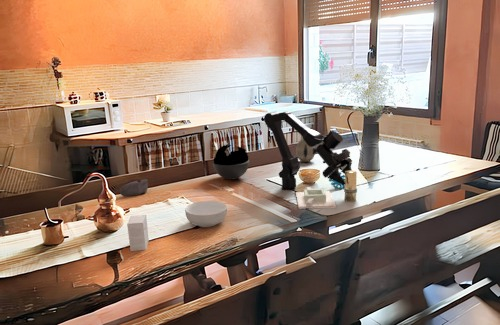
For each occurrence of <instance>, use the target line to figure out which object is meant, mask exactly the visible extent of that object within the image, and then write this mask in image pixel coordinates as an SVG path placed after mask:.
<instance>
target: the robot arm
mask: <svg viewBox="0 0 500 325" xmlns="http://www.w3.org/2000/svg"><path fill="white" fill-rule="evenodd" d="M263 121H264V123H265V125H266V127H267V129H269V130H270V131H271V132H272V136H273V137H274V140H275V143H276V146H277V147H278V151H279V153H280V156H281V160H282V161H281V168H282V169H281V170H280V171H279V173H278V177H279V178H281V190H282V191H283V190H284V191H290V190H291V191H292V190H296V188H297V178H296V177H295V176H297V174H298V173H299V171H300V170H301V166H300V165H301V163H300V162H299V161H300V160H299V159H298V158H297V156H294V155H292V153H291V150H290V147H289V144H288V141H287V139H286V136H285V133H284V131H283V128H282V126H283V125H282V124H283V121H284V122H285V123H287V125H289V126H290V127H291V128H293V129H294V130H295V131H296V132H297V133H298V134H299V135H300V136H301V137H302V139H303V140H304V141H305V142H306V143H307V145H308V146H310V147H314V146H315V148H313V154H315V155H317V154H318V156H320V158H321V159H322V160H323V161H322V163H323V164H326V165H327V167H326V168H325V169H324V170H323V171H322V176H323V177H324V178H327V179H328V180H329V179H332V180H334V181H336V182H338V183H340V184H342V186H343V185H345V184H346V183H345V182H344V180H343V179H342V178H343V177H341V176H342V175H340V174H339V172H341V173H343V175H345V171H353V170H352V164H353V160H352V159H351V155H350V154H351V151H349V149H347V148H345V149H341V152H340V153H338V152H336V151H335V152H334V151H333V150H335V149H336V147H338V146H339V145H340V144H341V143H342V142H343V140H344V138H343V136H342V135H341V134H339V133H338V132H336V131H335V130H334V129H332V130H329V132H328V133H327V135H324V134H323V135H322V134H321V133H320V132H318V131H316V130H315V129H312V128H309V127H308V126H307V125H306V124H304V123H303V122H302V121H301V120H299V118H298V117H296V115H294V114H292V112H291V111H289V110H288V111H283V112H278V111H272V112H267V113H265V114H264V117H263ZM339 170H340V171H339Z"/></svg>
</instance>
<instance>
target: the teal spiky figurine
mask: <svg viewBox="0 0 500 325" xmlns="http://www.w3.org/2000/svg"><path fill="white" fill-rule="evenodd" d="M342 173H343V172H341V171H339V174H340V176H341V177H342V179H343V180H344V182H345V174H343V175H342ZM328 182H331V183H330V185H331V186H334V188H335V189H339V190H342V189H344V188H345V185H342V184H340V183H338V182H336V181H334V180H332V179H329V178H328Z"/></svg>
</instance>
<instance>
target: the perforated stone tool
mask: <svg viewBox="0 0 500 325" xmlns="http://www.w3.org/2000/svg"><path fill="white" fill-rule="evenodd" d="M148 188H149V180H148V179H146V178H145V179H139V180H135V181H131V182H129V183H125V184H124V185H122V186H120V188H119V195H121V196H124V197H130V196H137V195H141V194H145V193H147V192H148Z"/></svg>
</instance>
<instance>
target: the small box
mask: <svg viewBox="0 0 500 325" xmlns="http://www.w3.org/2000/svg"><path fill="white" fill-rule="evenodd" d="M147 220H148V219H147V214H141V215H139V214H138V215H131V216H130V217H129V220H128V222H127V224H126V225H127V233H128V240H129V246H130V247H129V250H130V252H136V251H146V250H147V249H148V244H149V240H150V239H149V230H148V229H149V228H148V221H147Z"/></svg>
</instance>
